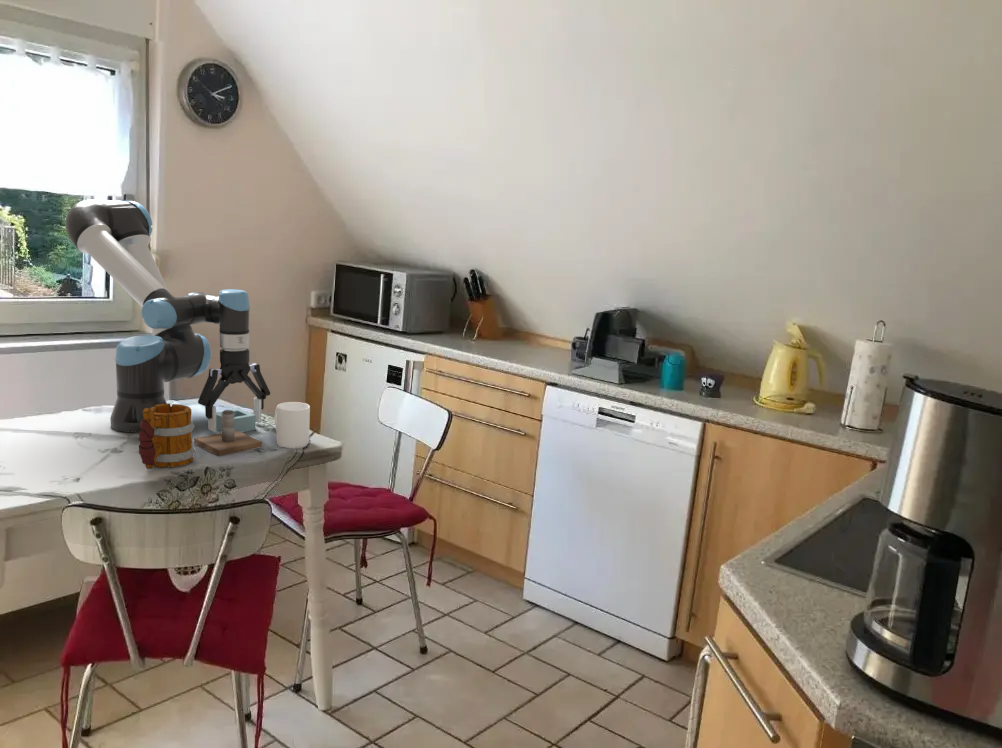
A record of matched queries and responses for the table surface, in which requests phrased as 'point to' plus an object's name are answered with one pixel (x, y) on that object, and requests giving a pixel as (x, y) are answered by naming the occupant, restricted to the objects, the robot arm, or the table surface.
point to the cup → (292, 424)
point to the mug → (166, 436)
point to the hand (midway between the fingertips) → (235, 425)
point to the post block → (227, 438)
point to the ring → (239, 420)
